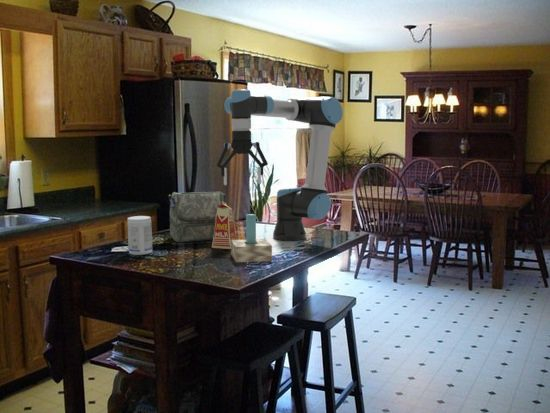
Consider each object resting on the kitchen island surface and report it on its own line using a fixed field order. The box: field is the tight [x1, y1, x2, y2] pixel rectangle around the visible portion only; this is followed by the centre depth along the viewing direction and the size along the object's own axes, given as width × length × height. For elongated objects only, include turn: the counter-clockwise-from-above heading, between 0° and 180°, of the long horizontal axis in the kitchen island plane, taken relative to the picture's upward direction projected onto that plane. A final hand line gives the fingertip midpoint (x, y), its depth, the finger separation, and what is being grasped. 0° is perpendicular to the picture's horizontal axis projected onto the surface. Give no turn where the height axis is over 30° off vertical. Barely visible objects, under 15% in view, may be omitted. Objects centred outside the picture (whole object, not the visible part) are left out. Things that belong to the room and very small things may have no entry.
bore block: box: [230, 238, 273, 263], centre depth 245 cm, size 14×14×6 cm
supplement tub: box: [127, 215, 153, 256], centre depth 253 cm, size 10×10×15 cm
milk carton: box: [211, 201, 237, 250], centre depth 266 cm, size 9×9×20 cm
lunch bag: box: [168, 190, 226, 243], centre depth 284 cm, size 26×18×22 cm
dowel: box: [245, 213, 257, 244], centre depth 244 cm, size 4×4×15 cm
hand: (242, 184), depth 244 cm, fingers open, 13 cm apart
